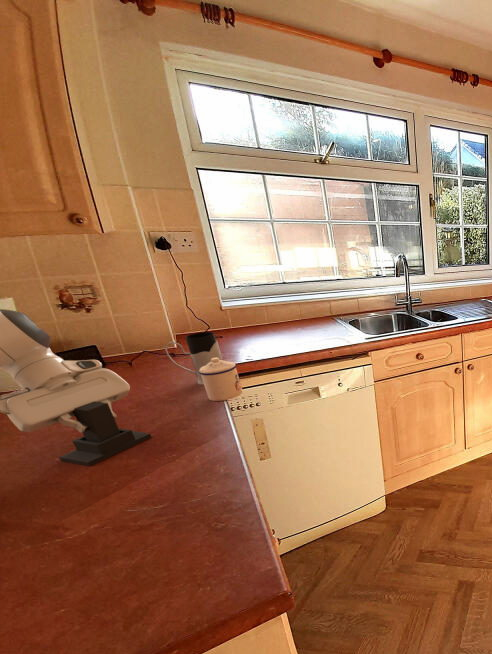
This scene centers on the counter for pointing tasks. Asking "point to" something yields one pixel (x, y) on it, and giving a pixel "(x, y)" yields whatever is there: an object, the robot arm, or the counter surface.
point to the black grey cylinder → (200, 351)
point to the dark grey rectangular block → (97, 421)
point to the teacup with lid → (221, 380)
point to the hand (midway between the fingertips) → (100, 424)
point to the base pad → (103, 447)
